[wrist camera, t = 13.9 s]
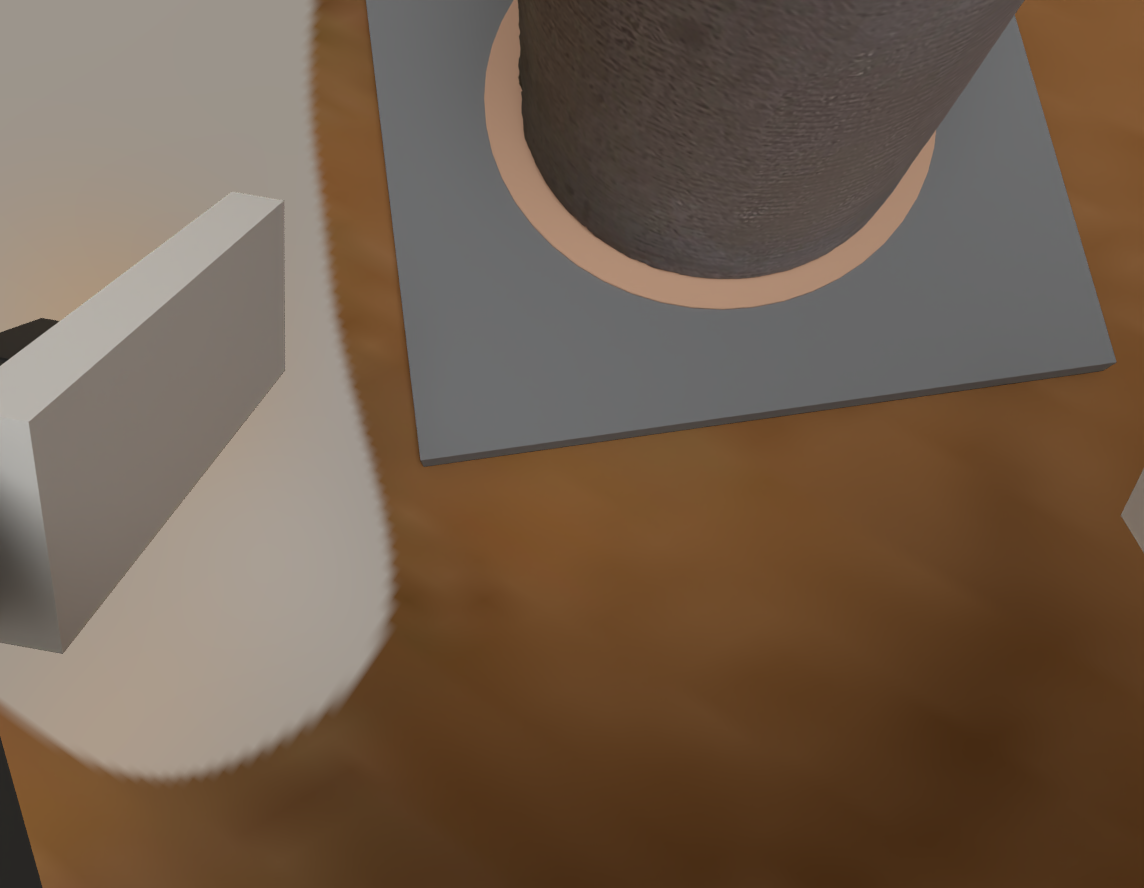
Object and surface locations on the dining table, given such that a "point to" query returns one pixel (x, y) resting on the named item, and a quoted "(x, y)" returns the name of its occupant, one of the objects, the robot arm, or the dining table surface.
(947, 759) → the dining table surface
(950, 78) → the pillar candle
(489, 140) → the mat
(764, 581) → the dining table surface
